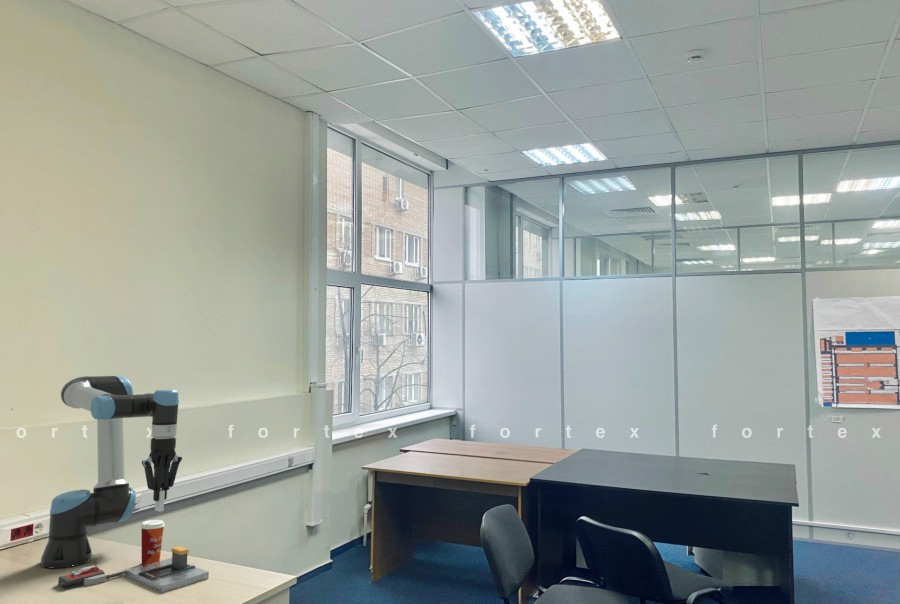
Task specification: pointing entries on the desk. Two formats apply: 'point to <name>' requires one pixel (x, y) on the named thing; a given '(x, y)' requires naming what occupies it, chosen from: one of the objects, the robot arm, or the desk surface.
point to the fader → (179, 557)
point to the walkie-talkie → (85, 577)
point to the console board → (166, 575)
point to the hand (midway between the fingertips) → (159, 510)
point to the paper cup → (151, 541)
